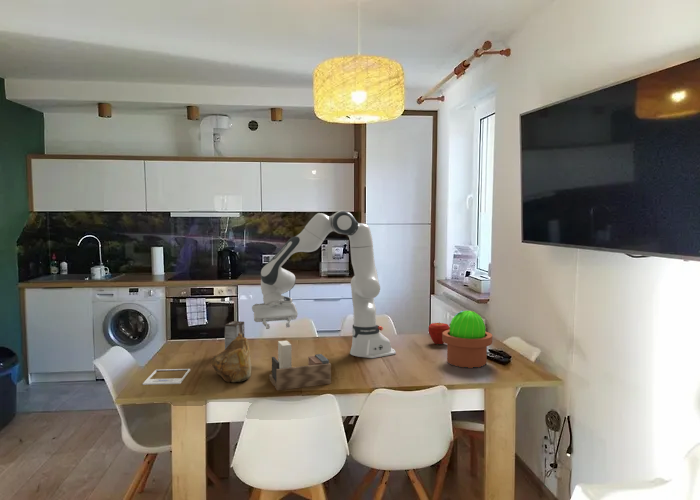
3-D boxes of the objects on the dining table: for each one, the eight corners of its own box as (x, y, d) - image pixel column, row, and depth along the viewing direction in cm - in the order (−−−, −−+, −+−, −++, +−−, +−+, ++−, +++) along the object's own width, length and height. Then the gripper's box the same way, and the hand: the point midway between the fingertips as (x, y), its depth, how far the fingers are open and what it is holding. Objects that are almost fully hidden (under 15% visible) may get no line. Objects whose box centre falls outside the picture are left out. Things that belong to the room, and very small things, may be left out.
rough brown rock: (216, 369, 221) (213, 337, 219) (254, 365, 222) (251, 333, 221) (207, 389, 198) (202, 353, 196) (249, 384, 199) (245, 348, 198)
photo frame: (142, 383, 199) (155, 369, 216) (142, 385, 199) (155, 371, 216) (180, 382, 200) (190, 368, 218) (180, 384, 200) (190, 370, 218)
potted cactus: (499, 362, 231) (501, 309, 229) (476, 373, 215) (478, 315, 213) (457, 353, 246) (458, 303, 244) (433, 363, 229) (434, 309, 228)
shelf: (320, 373, 214) (320, 350, 213) (330, 383, 201) (330, 359, 200) (269, 379, 206) (269, 355, 205) (277, 390, 193) (276, 364, 192)
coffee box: (232, 353, 245) (232, 320, 244) (245, 353, 244) (244, 321, 243) (224, 358, 236) (224, 324, 235) (237, 359, 235) (236, 325, 234)
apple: (449, 342, 268) (450, 320, 267) (449, 347, 257) (449, 324, 257) (428, 341, 270) (429, 318, 270) (427, 345, 260) (427, 323, 259)
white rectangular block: (286, 367, 223) (286, 340, 222) (291, 372, 215) (291, 344, 214) (278, 368, 221) (278, 341, 220) (282, 373, 214) (282, 345, 213)
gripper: (252, 300, 231) (256, 325, 222) (295, 297, 238) (300, 322, 230) (250, 308, 235) (254, 333, 227) (292, 305, 243) (298, 329, 234)
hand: (278, 327), depth 228 cm, fingers open, 8 cm apart
